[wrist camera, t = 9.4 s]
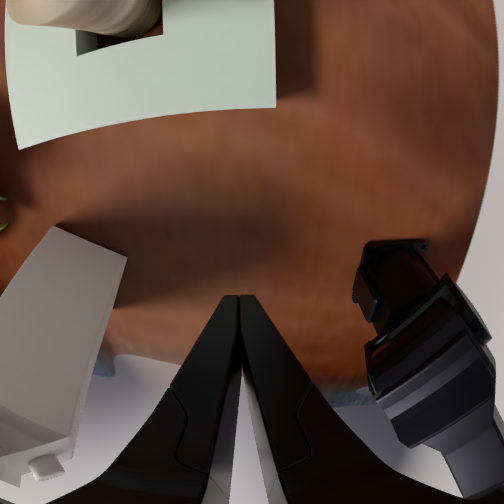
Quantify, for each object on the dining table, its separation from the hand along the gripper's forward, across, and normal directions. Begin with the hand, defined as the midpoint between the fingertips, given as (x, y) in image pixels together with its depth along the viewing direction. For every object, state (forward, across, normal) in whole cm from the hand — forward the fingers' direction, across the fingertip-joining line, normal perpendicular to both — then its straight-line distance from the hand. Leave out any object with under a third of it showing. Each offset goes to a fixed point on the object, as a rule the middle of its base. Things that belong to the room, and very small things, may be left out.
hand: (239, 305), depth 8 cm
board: (+12, +6, -11) cm, 18 cm away
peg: (+12, +6, -11) cm, 18 cm away
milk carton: (+13, +14, +8) cm, 20 cm away
